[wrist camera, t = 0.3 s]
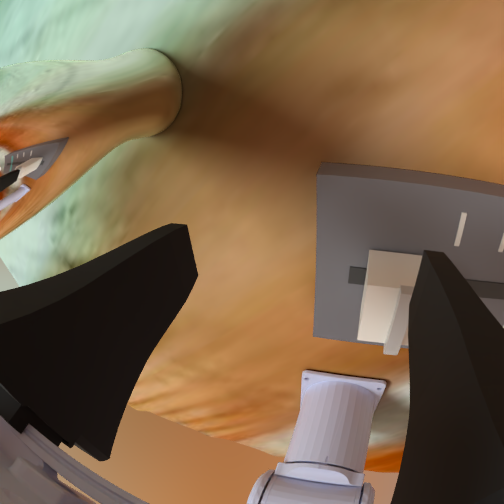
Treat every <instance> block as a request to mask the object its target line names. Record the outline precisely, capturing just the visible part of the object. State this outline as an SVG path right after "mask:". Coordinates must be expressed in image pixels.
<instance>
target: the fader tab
mask: <svg viewBox="0 0 504 504" xmlns="http://www.w3.org/2000/svg"><path fill="white" fill-rule="evenodd" d="M421 260H422V255H413V254H404V253H395V252H386V251H377V250H369V257H368V264H367V271H366V278H365V284H364V291H363V297H362V303H361V312H360V320H359V329H358V336H357V340H361V341H369V342H378V343H385V344H384V353H383V354H390V355H397V354H398V352H399V349H400V346H401V345H407V346H408V319H409V303H410V300H411V297H412V293H413V290H414V286H415V283H416V279H417V275H418V271H419V268H420V264H421Z"/></svg>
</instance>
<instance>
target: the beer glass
mask: <svg viewBox="0 0 504 504" xmlns="http://www.w3.org/2000/svg"><path fill="white" fill-rule="evenodd" d="M181 100H182V84H181V79H180V76H179V73H178V71H177V69H176V67H175V66H174V64H173V63H172V61H171V60H170V59H169V58H168V57H167V56H165V55H164V54H162V53H161V52H159V51H156V50H153V49H148V48H140V49H135V50H131V51H128V52H126V53H123V54H121V55H118V56H116V57H113V58H109V59H104V60H41V61H32V62H24V63H16V64H12V65H8V66H4V67H1V68H0V240H1V239H3V238H4V237H6V236H7V235H9V234H10V233H12V232H13V231H15V230H16V229H17V228H19V227H20V226H22V225H23V224H24V223H26V222H27V221H29V220H30V219H32V218H33V217H34V216H36V215H37V214H38V213H39V212H41V211H42V210H43V209H45V208H46V207H47V206H49V205H50V204H51V203H53V202H54V201H55V200H56V199H57V198H58V197H60V196H61V195H62V194H63V193H64V192H65V191H67V190H68V189H69V188H70V187H71V186H72V185H74V184H75V183H76V182H77V181H78V180H79V179H80V178H81V177H82V176H83V175H84V174H86V173H87V172H88V171H89V170H90V169H91V168H92V167H93V166H94V165H96V164H97V163H98V162H99V161H100V160H101V159H102V158H103V157H105V156H106V155H107V154H108V153H110V152H111V151H112V150H113V149H115V148H116V147H118V146H119V145H121V144H123V143H125V142H127V141H130V140H134V139H139V138H144V137H149V136H153V135H156V134H158V133H160V132H162V131H163V130H165V129H166V128H167V127H168V126H169V125H170V124H171V123H172V122H173V121H174V119H175V118H176V116H177V114H178V111H179V109H180V105H181Z"/></svg>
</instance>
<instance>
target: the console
mask: <svg viewBox="0 0 504 504" xmlns="http://www.w3.org/2000/svg"><path fill="white" fill-rule="evenodd" d="M369 250H377V251H386V252H395V253H404V254H413V255H423V251H424V250H430V251H438V252H444V253H445V254H446V255H447V257H448V258H449V259H450V260H451V261H452V263H453V264H454V265H455V266H456V268H457V269H458V270H459V272H460V273H461V274H462V275H463V277H464V278H465V279H466V281H467V282H468V283H469V285H470V286H471V287H472V289H473V290H474V291H475V293H476V294H477V295H478V296H479V298H480V299H481V300H482V302H483V303H484V304H485V305H486V307H487V308H488V309H489V311H490V312H491V313H492V314H493V316H494V317H495V318H496V319H497V321H498V322H499V323H500V324H501V326H502V327H503V328H504V185H501V184H495V183H490V182H485V181H480V180H474V179H468V178H462V177H456V176H450V175H443V174H436V173H429V172H421V171H414V170H405V169H397V168H387V167H377V166H367V165H355V164H341V163H326V162H322V163H321V165H320V167H319V170H318V172H317V245H316V283H315V308H314V327H313V337H319V338H326V339H333V340H341V341H348V342H356V343H364V344H372V345H381V346H384V344H385V343H378V342H369V341H361V340H357V336H358V329H359V320H360V312H361V303H362V297H363V291H364V284H365V278H366V271H367V264H368V257H369ZM400 348H409V347H408V346H407V345H401V346H400Z"/></svg>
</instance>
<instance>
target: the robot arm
mask: <svg viewBox="0 0 504 504" xmlns="http://www.w3.org/2000/svg"><path fill="white" fill-rule="evenodd" d="M197 277H198V272H197V268H196V263H195V259H194V254H193V250H192V245H191V241H190V236H189V232H188V227H187V225H185V224H173V223H171V224H168V225H165V226H162V227H160V228H157V229H155V230H153V231H151V232H148V233H146V234H144V235H142V236H140V237H138V238H136V239H134V240H132V241H130V242H128V243H126V244H124V245H122V246H120V247H118V248H116V249H114V250H112V251H110V252H108V253H106V254H103V255H101V256H99V257H97V258H95V259H93V260H91V261H89V262H87V263H85V264H82V265H80V266H78V267H76V268H73V269H71V270H68V271H66V272H63V273H61V274H58V275H56V276H53V277H50V278H47V279H44V280H41V281H38V282H35V283H32V284H29V285H26V286H22V287H18V288H15V289H10V290H7V291H2V292H0V504H96V503H95V502H93V501H92V500H90V499H89V498H87V497H86V496H84V495H83V494H81V493H79V492H78V491H76V490H74V489H73V488H71V487H69V486H68V485H66V484H64V483H63V482H61V481H59V480H58V478H57V473H59V474H60V475H61V476H63V477H64V478H65V479H66V480H68V481H69V482H70V483H72V484H73V485H75V486H76V487H77V488H79V489H80V490H82V491H83V492H84V493H86V494H87V495H89V496H90V497H92V498H93V499H95V500H96V501H98V502H99V503H101V504H149V503H147V502H145V501H143V500H141V499H139V498H137V497H135V496H133V495H131V494H130V493H128V492H126V491H124V490H122V489H120V488H119V487H117V486H115V485H114V484H112V483H110V482H109V481H107V480H105V479H104V478H102V477H100V476H99V475H97V474H96V473H94V472H93V471H91V470H90V469H88V468H87V467H85V466H83V465H82V464H81V463H79V462H78V461H76V460H75V459H73V458H72V457H71V456H69V455H68V454H67V453H65V452H64V451H63V450H61V449H60V448H59V447H58V446H59V445H60V443H61V442H63V443H64V444H65V445H67V446H68V447H69V448H72V447H73V445H75V446H77V447H78V448H80V449H81V450H83V451H84V452H86V453H88V454H89V455H91V456H92V457H94V458H95V459H97V460H98V461H105V460H108V459H109V458H110V454H111V450H112V446H113V443H114V440H115V436H116V433H117V429H118V427H119V424H120V421H121V418H122V415H123V413H124V410H125V408H126V405H127V403H128V400H129V398H130V396H131V393H132V391H133V389H134V386H135V384H136V382H137V380H138V378H139V376H140V374H141V372H142V370H143V368H144V366H145V364H146V362H147V360H148V358H149V357H150V355H151V353H152V351H153V350H154V348H155V347H156V345H157V344H158V342H159V341H160V339H161V338H162V336H163V335H164V333H165V332H166V330H167V329H168V327H169V326H170V324H171V323H172V321H173V320H174V319H175V317H176V315H177V314H178V312H179V311H180V309H181V308H182V306H183V305H184V303H185V302H186V300H187V298H188V296H189V294H190V292H191V290H192V288H193V286H194V284H195V282H196V279H197ZM408 347H409V369H410V412H409V421H408V429H407V435H406V442H405V447H404V452H403V457H402V462H401V467H400V471H399V476H398V479H397V483H396V487H395V491H394V494H393V498H392V501H391V504H504V328H503V327H502V326H501V324H500V323H499V322H498V321H497V319H496V318H495V317H494V316H493V314H492V313H491V312H490V311H489V309H488V308H487V307H486V305H485V304H484V303H483V302H482V300H481V299H480V298H479V296H478V295H477V294H476V293H475V291H474V290H473V289H472V287H471V286H470V285H469V283H468V282H467V281H466V279H465V278H464V277H463V275H462V274H461V273H460V272H459V270H458V269H457V268H456V266H455V265H454V264H453V263H452V261H451V260H450V259H449V258H448V257H447V255H446V254H445V253H444V252H438V251H430V250H424V251H423V255H422V260H421V264H420V268H419V271H418V275H417V279H416V283H415V286H414V290H413V293H412V297H411V300H410V303H409V319H408ZM385 388H386V382H385V381H383V380H375V379H367V378H358V377H351V376H343V375H336V374H329V373H323V372H316V371H310V370H305V371H303V373H302V386H301V406H300V412H299V416H298V419H297V422H296V426H295V429H294V432H293V435H292V438H291V441H290V444H289V447H288V451H287V454H286V456H285V459H284V462H283V463H281V462H278V464H277V467H276V470H268V471H267V472H266V473H264V474H262V475H261V476H260V477H259V478H258V479H257V481H256V482H255V485H254V486H253V488H252V491H251V493H250V495H249V498H248V501H247V504H373V502H374V495H375V490H374V488H373V487H372V486H371V484H370V483H364V484H363V480H364V476H365V474H364V473H363V470H364V465H365V460H366V455H367V449H368V444H369V438H370V432H371V425H372V419H373V414H374V412H375V410H376V407H377V405H378V403H379V401H380V399H381V397H382V394H383V392H384V390H385ZM362 485H363V486H362Z"/></svg>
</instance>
